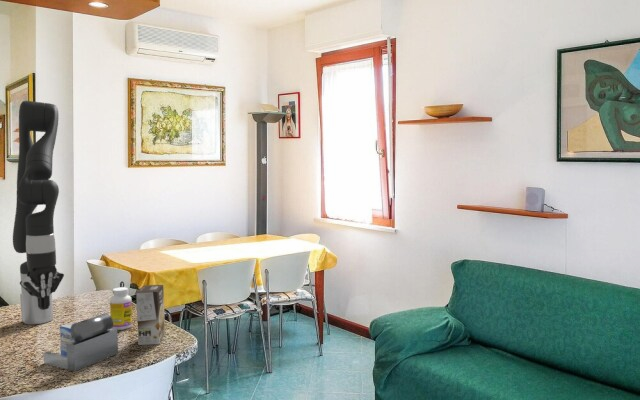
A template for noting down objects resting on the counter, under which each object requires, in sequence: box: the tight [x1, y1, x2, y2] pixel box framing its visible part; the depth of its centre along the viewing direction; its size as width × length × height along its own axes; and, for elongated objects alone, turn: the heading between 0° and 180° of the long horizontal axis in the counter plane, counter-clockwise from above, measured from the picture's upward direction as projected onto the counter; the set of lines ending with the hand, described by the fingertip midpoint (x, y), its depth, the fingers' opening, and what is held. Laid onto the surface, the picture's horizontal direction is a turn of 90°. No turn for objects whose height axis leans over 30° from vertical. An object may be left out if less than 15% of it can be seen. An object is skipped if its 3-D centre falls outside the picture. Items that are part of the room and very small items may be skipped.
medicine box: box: [59, 322, 75, 356], centre depth 157 cm, size 8×4×9 cm, turn 58°
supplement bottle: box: [109, 286, 133, 331], centre depth 182 cm, size 7×7×13 cm
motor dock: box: [43, 312, 119, 372], centre depth 155 cm, size 14×14×12 cm
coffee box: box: [135, 284, 166, 346], centre depth 169 cm, size 9×6×16 cm
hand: (44, 308), depth 161 cm, fingers closed
